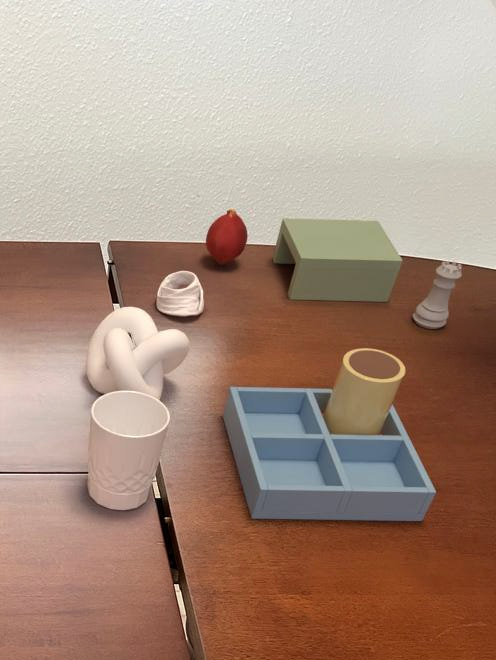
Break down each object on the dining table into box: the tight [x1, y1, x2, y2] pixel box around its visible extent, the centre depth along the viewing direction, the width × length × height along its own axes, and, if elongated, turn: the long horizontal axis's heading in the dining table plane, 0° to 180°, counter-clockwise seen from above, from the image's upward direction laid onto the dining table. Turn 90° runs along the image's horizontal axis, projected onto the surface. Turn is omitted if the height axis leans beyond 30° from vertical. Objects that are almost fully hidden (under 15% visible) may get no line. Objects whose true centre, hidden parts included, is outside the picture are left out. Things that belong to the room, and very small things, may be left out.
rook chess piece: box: [412, 260, 463, 330], centre depth 119 cm, size 4×4×8 cm
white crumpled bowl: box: [156, 270, 205, 317], centre depth 120 cm, size 8×7×5 cm
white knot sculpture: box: [85, 306, 190, 401], centre depth 105 cm, size 11×12×9 cm
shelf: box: [272, 217, 403, 303], centre depth 126 cm, size 14×12×6 cm
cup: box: [323, 347, 406, 435], centre depth 99 cm, size 7×7×9 cm
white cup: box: [86, 391, 171, 511], centre depth 92 cm, size 8×8×10 cm
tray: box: [222, 386, 437, 522], centre depth 99 cm, size 18×18×4 cm
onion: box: [205, 208, 248, 266], centre depth 128 cm, size 6×6×8 cm
